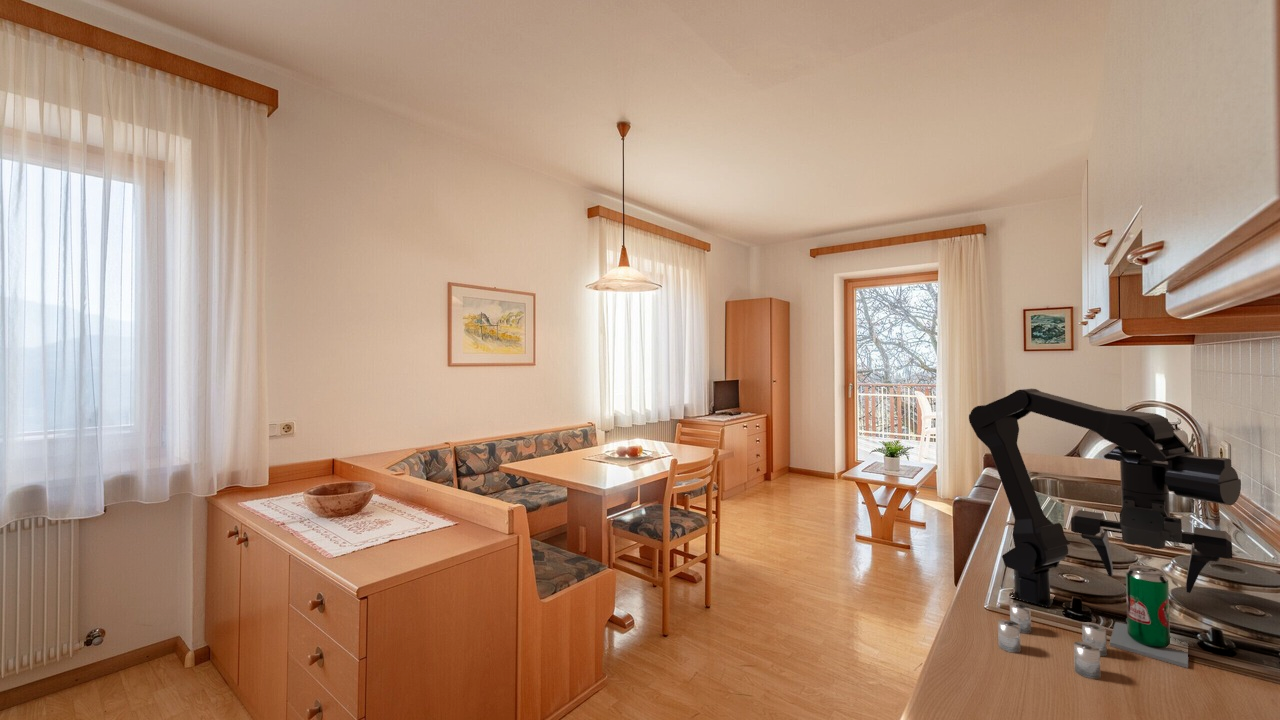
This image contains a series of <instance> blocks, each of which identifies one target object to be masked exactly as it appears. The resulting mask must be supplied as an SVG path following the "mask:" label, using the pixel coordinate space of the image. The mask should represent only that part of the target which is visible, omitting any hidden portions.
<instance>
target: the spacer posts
mask: <svg viewBox="0 0 1280 720" xmlns="http://www.w3.org/2000/svg"><path fill="white" fill-rule="evenodd" d="M1031 616H1032V615H1031V607H1030V606H1028V605H1026V604H1024V603H1020V602H1019V603H1018V602H1011V603H1009V619H999V620H997V635H998V639H997V640H998V647H999V649H1001V650H1003V651H1005V652H1009V653H1012V654H1014V653H1015V654H1017V653H1021V634H1030V633H1032V619H1031V618H1032V617H1031ZM1081 633H1082V634H1081V635H1082V639H1081V640H1082V641H1075V642H1073V652H1074V654H1073V655H1074V659H1073V660H1074V671H1075V672H1076V674H1078V675H1080V676H1082V677H1084V678H1088V679H1092V680H1098V679H1101V675H1102V674H1101V657H1106V656H1107V655H1108V646H1107V641H1108V640H1107V629H1106V627H1104V626H1103V625H1101V624H1098V623H1096V622H1095V623H1094V622H1092V621H1091V622H1089V621H1087V622H1082V623H1081Z"/></svg>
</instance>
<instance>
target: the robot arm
mask: <svg viewBox="0 0 1280 720" xmlns="http://www.w3.org/2000/svg"><path fill="white" fill-rule="evenodd" d="M1031 413H1034V414H1038V415H1041V416H1043V417H1047V418H1050V419H1053V420H1057V421H1060V422H1065V423H1068V424H1072V425H1074V426H1076V427H1080V428H1084V429H1087V430H1090V431H1091V432H1093V433H1096V434H1097V435H1098V436H1100V437H1101V438H1102V439H1103V440H1105V441H1107V442H1110V443H1111V444H1114V445H1116V446H1114V448H1113V449H1112V450H1111V451H1109V452H1108V453H1106V454H1104V455H1103V457H1104V459H1106V460H1110V461H1111V460H1112V461H1118V462H1119V465H1120V468H1119V470H1120V471H1119V472H1120V491H1121V492H1120V494H1121V497H1120V498H1121V510H1120V512H1119V521H1118V520H1110V519H1105V514H1104V513H1101V512H1095V511H1090V510H1089V511H1088V510H1082V509H1079V510H1077V511H1075V512H1074V513H1073V515H1072V516H1071V518H1070V519H1071V520H1070V531H1071V532H1072V533H1074V534H1075V533H1076V534H1081V539H1085V540H1088V541H1089V542H1090V543H1091V544H1092V545H1093V547H1094V548H1095V550H1096V551H1097V553H1098V556H1099V557H1100V559H1101V561H1102V563H1103V566H1104V568H1105V570H1106V572H1107V575H1108V576H1109V577H1113V572H1114V569H1113V560H1112V554H1111V547H1110V541H1109V534H1108V532H1110V533H1117V534H1121V538H1122V540H1121V541H1122V542H1124V543H1126V544H1128V545H1133V546H1135V545H1139V546H1144V547H1149V548H1151V549H1156V550H1162V549H1164V548H1165V546H1166V542H1171V543H1179V544H1183V545H1184V544H1185V545H1190V546H1191V548H1190V556H1189V562H1188V566H1187V567H1188V568H1187V573H1186V580H1185V581H1186V583H1185V587H1186V590H1185V591H1186V593H1188V594H1191V592H1192V590H1193V587H1194V586H1195V583H1196V581H1197V579H1198V577H1199V576H1200V574H1201V571H1202V570H1203V569H1204V567H1205V566H1206V565H1207V564H1208V563H1209V562H1215V563H1217V562H1220V558H1222V559H1231V560H1232V559H1233V542H1232V536H1231V534H1229V533H1228V532H1227V530H1226V531H1225V530H1220V529H1212V528H1206V527H1199V526H1194V527H1193V532H1189V531H1184V530H1183V526H1182V518H1177V517H1172V516H1171V509H1170V506H1171V505H1170V492H1173V493H1174V494H1175V495H1176V496H1177V497H1181V498H1187V499H1192V500H1198V501H1204V502H1208V503H1215V504H1220V505H1224V506H1233V505H1235V504H1236V502H1237V501H1238V499H1239V497H1240V493H1241V489H1242V481H1241V480H1242V479H1240V478H1239V475H1238V473H1237V470H1236V469H1235V467H1233V466H1232V460H1231V459H1230V458H1228V457H1227V458H1226V457H1220V456H1218V457H1208V456H1198V455H1195V454H1194V451H1192V450H1191V449H1190V448H1189V447H1188V446H1187V445H1186V444H1185V443H1184V442H1183V440H1181V438H1180V437H1179V436H1178V435H1177V434H1176V433H1175V432H1174V429H1173V428H1174V427H1173V426H1172V424H1171V423H1170V421H1169V419H1168V418H1167V417H1165V416H1162V415H1161V414H1157V413H1152V412H1145V411H1143V412H1142V411H1135V410H1122V409H1120V410H1119V409H1109V408H1105V407H1099V406H1097V405H1093V404H1089V403H1084V402H1082V401H1078V400H1073V399H1070V398H1066V397H1062V396H1059V395H1055V394H1051V393H1047V392H1044V391H1041V390H1039V389H1037V388H1023V389H1017V390H1015V391H1013V392H1012V393H1010V394H1008V395H1006V396H1004V397H1002V398H999V399H997V400H994V401H992V402H989V403H988V404H983V405H977V406H975V407H974V408H972V409H971V411H970V414H968V421H969V424H970V426H971V428H972V430H973V432H974V434H975V436H976V437H977V438H978V439H979V440H980V441H981V442H982V443H983V444H984V445H985V446H986V447H988V449H989V451H990V453H991V457H992V460H993V463H994V465H995V467H996V468H995V469H996V470H997V473H998V475H999V479H1000V481H1001V484H1002V487H1003V489H1004V492H1005V495H1006V498H1007V500H1008V504H1009V506H1010V509H1011V511H1012V515H1013V517H1014V523H1013V529H1012V539H1013V543H1014V547H1013V548H1011V549H1010V550H1008V551H1007V552H1005V553H1004V554H1002V555H1001V558H1002V560H1003V564H1004V566H1005V568H1008V569H1011V570H1013V577H1014V578H1013V583H1014V584H1013V585H1014V587H1013V589H1014V588H1015V593H1013V592H1012V593H1011V592H1010V593H1009V594H1008V595H1009V596H1011V595H1013V596H1012V597H1015V598H1018V599H1021V600H1024V601H1028V602H1031V603H1030V604H1032V603H1035V604H1034V605H1036V604H1039V605H1043V606H1047V607H1050V608H1051V607H1052V604H1053V603H1054V601H1053V599H1050V593H1051V582H1050V581H1051V580H1050V579H1051V577H1050V575H1051V574H1050V569H1053V568H1058V567H1059V566H1060V565H1059V564H1060V562H1061V561H1063V560H1065V559H1066V558H1067V556H1068V554H1069V548H1068V546H1069V545H1071V543H1070V542H1069V540H1068V539H1067V538H1066V535H1065V532H1064V528H1063V525H1062V524H1061V523H1060V522H1057V523H1053V522H1052V521H1051V520H1049V518H1048V517H1046V515H1045V514H1044V511H1043V508H1042V506H1041V504H1040V501H1039V499H1038V496H1037V493H1036V490H1035V488H1034V485H1033V482H1032V480H1031V477H1030V475H1029V473H1028V470H1027V467H1026V465H1025V462H1024V459H1023V457H1022V453H1021V451H1020V449H1019V446H1018V439H1019V433H1020V426H1019V422H1018V421H1019V420H1021V419H1023V418H1025V417H1026V416H1028V415H1029V414H1031ZM1160 448H1161V449H1160ZM1024 601H1023V602H1024ZM1028 602H1027V603H1028ZM1039 605H1038V606H1039ZM1043 606H1042V607H1043ZM1047 607H1046V608H1047Z"/></svg>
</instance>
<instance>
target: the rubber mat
mask: <svg viewBox="0 0 1280 720" xmlns="http://www.w3.org/2000/svg"><path fill="white" fill-rule="evenodd" d="M1171 637H1173V638H1174V639H1175V640H1176V639H1178V640H1179V641H1181V642H1184V641H1185V642H1186V643H1189V645H1188V646H1189V647H1190V641H1189V640H1188V639H1184V638H1179V637H1176V636H1172V635H1170V638H1171ZM1181 642H1180V643H1181ZM1108 643H1109V647H1112V648H1116V649H1119V650H1123V651H1126V652H1131V653H1133V654H1137V655H1140V656H1143V657H1147V658H1151V659H1154V660H1158V661H1161V662H1165V663H1169V664H1172V665H1175V666H1179V667H1181V668H1182V667H1183V668H1186V669H1189V657H1188V652H1184V651H1182V650H1176V649H1172V648H1166V647H1164V648H1154V647H1149V646H1146V645H1143V644H1140V643H1138V642H1136V641H1135V640H1133V639H1132V638H1131V637H1130V636H1129V634H1128V632H1127V623H1123V622H1118V621H1115V622H1114V626H1113V628H1112V632H1111V636H1110V640H1109V642H1108Z"/></svg>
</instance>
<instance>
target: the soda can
mask: <svg viewBox="0 0 1280 720" xmlns="http://www.w3.org/2000/svg"><path fill="white" fill-rule="evenodd" d="M1169 584H1170V583H1169V579H1168V578H1167V577H1166V573H1165V572H1164V571H1163V570H1161V569H1159V568H1156V567H1154V566H1150V565H1149V566H1148V565H1144V564H1130V565H1128V569H1127V570H1126V571H1125V586H1126V589H1125V590H1126V625H1127V632H1128V634H1129V636H1130V637H1131V638H1132V639H1133V640H1135V641H1136V642H1138V643H1140V644H1143V645H1146V646H1149V647H1154V648H1164V647H1167V646H1168V645H1169V644H1170V636H1171V634H1170V633H1171V629H1170V628H1171V627H1170V626H1171V625H1170V588H1169V586H1170V585H1169Z"/></svg>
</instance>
